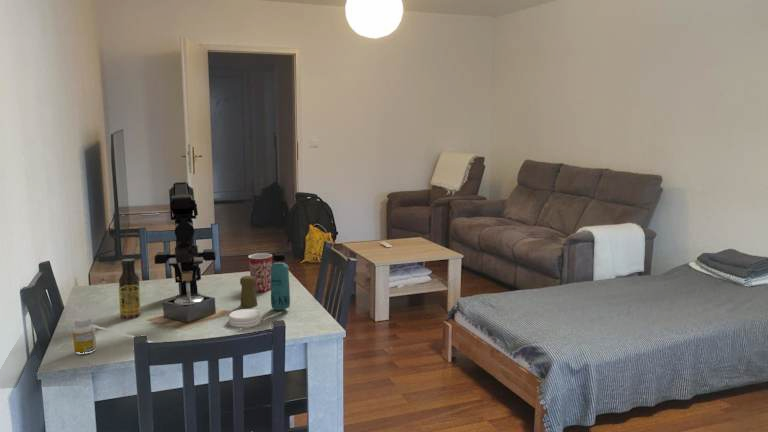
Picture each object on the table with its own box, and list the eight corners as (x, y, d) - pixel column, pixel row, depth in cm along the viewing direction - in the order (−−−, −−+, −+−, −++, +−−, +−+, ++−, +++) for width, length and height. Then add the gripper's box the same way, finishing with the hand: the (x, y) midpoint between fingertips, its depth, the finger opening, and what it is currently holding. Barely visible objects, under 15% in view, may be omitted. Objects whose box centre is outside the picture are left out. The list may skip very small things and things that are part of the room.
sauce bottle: (121, 322, 187) (115, 262, 184) (120, 316, 193) (114, 258, 190) (142, 319, 190) (138, 260, 187) (141, 313, 196) (136, 256, 193)
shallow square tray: (159, 316, 190) (158, 300, 190) (187, 307, 200) (186, 291, 199) (187, 323, 183) (186, 307, 182) (215, 313, 193) (214, 297, 192)
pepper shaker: (253, 310, 198) (251, 279, 196) (237, 309, 199) (235, 278, 198) (260, 304, 204) (259, 274, 202) (244, 303, 205) (243, 273, 204)
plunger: (168, 303, 189) (166, 273, 187) (190, 296, 197) (189, 267, 195) (187, 307, 184) (185, 277, 183) (209, 299, 192) (207, 271, 190)
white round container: (234, 318, 190) (233, 308, 190) (264, 318, 190) (263, 308, 189) (224, 329, 180) (224, 318, 180) (256, 329, 180) (255, 318, 179)
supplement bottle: (80, 348, 165) (77, 316, 164) (99, 348, 166) (96, 315, 164) (71, 356, 160) (67, 322, 159) (91, 355, 160) (87, 321, 159)
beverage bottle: (272, 308, 200) (269, 252, 196) (291, 307, 200) (289, 251, 197) (270, 314, 193) (267, 256, 190) (290, 313, 194) (287, 255, 191)
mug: (277, 290, 222) (276, 255, 220) (255, 294, 217) (254, 259, 215) (263, 283, 232) (262, 250, 230) (242, 287, 227) (240, 253, 225)
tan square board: (144, 321, 188) (144, 319, 188) (193, 304, 205) (193, 303, 205) (186, 331, 178) (185, 330, 178) (234, 313, 194) (234, 312, 194)
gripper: (150, 241, 177) (153, 290, 180) (213, 238, 181) (216, 286, 184) (155, 235, 188) (159, 281, 190) (214, 231, 192) (217, 277, 194)
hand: (187, 281), depth 189 cm, fingers closed on plunger, 3 cm apart
